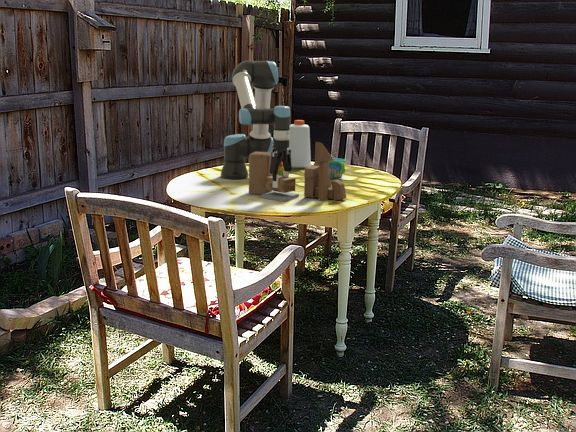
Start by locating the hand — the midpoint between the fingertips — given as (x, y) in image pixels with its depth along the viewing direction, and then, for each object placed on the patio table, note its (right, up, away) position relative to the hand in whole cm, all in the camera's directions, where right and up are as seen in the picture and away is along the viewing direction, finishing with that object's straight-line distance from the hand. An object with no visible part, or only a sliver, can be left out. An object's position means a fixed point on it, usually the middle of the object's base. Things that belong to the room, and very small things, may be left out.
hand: (280, 186), depth 322 cm
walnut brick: (0, -2, 0) cm, 2 cm away
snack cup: (+30, +7, +56) cm, 65 cm away
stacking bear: (-2, +1, +28) cm, 29 cm away
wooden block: (-10, -3, +10) cm, 14 cm away
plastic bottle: (+10, +16, +90) cm, 92 cm away
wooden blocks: (+23, -5, +4) cm, 24 cm away
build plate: (0, -5, +1) cm, 6 cm away
